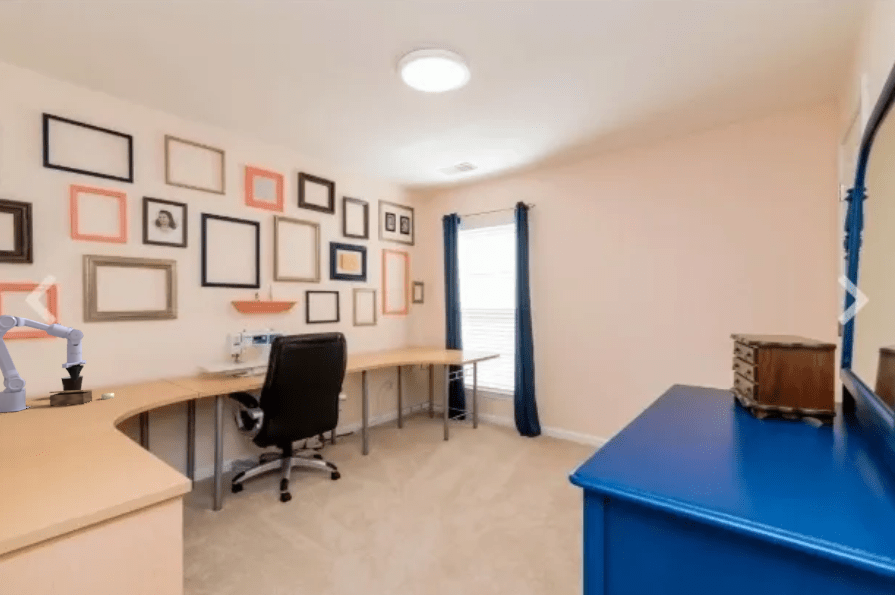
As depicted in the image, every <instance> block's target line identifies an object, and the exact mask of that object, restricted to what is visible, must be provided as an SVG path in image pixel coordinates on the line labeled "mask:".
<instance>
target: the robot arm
mask: <svg viewBox="0 0 895 595" xmlns="http://www.w3.org/2000/svg"><path fill="white" fill-rule="evenodd" d="M15 327H18V328H19V327H28V328H32V329H37V330H39V331H40V330H41V331H45V332H46V334H47V335H49V336H52V337H56V338H61V339H65V340H66V362H64V363H61V368H62V369H65V371H66V372H67V373H68V374H69V376H70V378H71V380H72V381H75V380H78V378H79V375H81V371H82V370H83V368H84V365H86V364H87V359H83V343H82V342H83V341H82V339H83V338H84V334H83V332H82V330H80V329H75V328H73V326H65V325H62V324H61V323H59V322H58V323H51V324H46V323H43V322H41V321H37V320H33V319H30V318H27V317H22V316H15V315H10V314H9V315H8V314H3V315H2V314H1V315H0V370H1V373H2V376H3V383H2V384H3V387H4V390H2V391H0V413H10V412H11V413H12V412H20V411H23V410H26V408H27V409H29V407H30V408H31V407H32V406H28V405H27V406H26V400H27V399H26V393H27V392H26V391H27V390H26V387H25V386H26V380H25V379H24V378H23V377H21V376H20V374H19V372H18V370H17V367H16V366H15V363H14V361H13V357H12V356H11V354H10V352H9V349H8V347H7V345H6V342H5V341H4V336H5V335H6V334H7V333H8V331H10V330H12V329H13V328H15Z"/></svg>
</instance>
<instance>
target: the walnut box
mask: <svg viewBox="0 0 895 595" xmlns="http://www.w3.org/2000/svg"><path fill="white" fill-rule="evenodd" d="M90 401H91V402H93V390H92V391H83V392H65V393H64V392H63V393H53V394H51V395H50V396H49V405H60V406H68V405H67V404H79V405H85V404H84V403H86V404H88V403H91V402H90ZM87 402H88V403H87Z"/></svg>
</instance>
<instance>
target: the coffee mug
mask: <svg viewBox="0 0 895 595" xmlns="http://www.w3.org/2000/svg"><path fill="white" fill-rule="evenodd" d="M83 379H84V375H81V374H80V375H79V378H78V380H75V381H72V380H71V378H70V375H69V376H68V375H67V376H63V377H61V385H62V391H73V390H82V384H83ZM63 393H65V392H63Z"/></svg>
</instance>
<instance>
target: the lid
mask: <svg viewBox="0 0 895 595" xmlns="http://www.w3.org/2000/svg"><path fill="white" fill-rule="evenodd" d="M86 391H92V392H93V389H81V390H73V391H63V390H57V391H49V394H57V393H64V392H86Z"/></svg>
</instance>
